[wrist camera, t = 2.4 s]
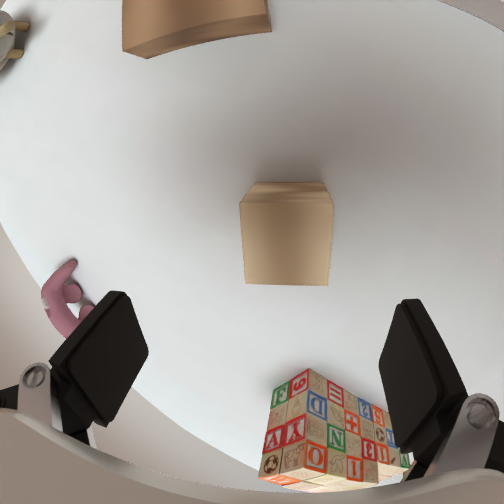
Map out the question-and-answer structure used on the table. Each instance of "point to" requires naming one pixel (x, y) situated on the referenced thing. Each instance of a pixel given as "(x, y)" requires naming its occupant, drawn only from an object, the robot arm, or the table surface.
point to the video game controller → (63, 300)
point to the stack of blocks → (327, 439)
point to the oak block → (287, 233)
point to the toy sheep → (9, 37)
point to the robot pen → (482, 9)
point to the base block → (187, 23)
